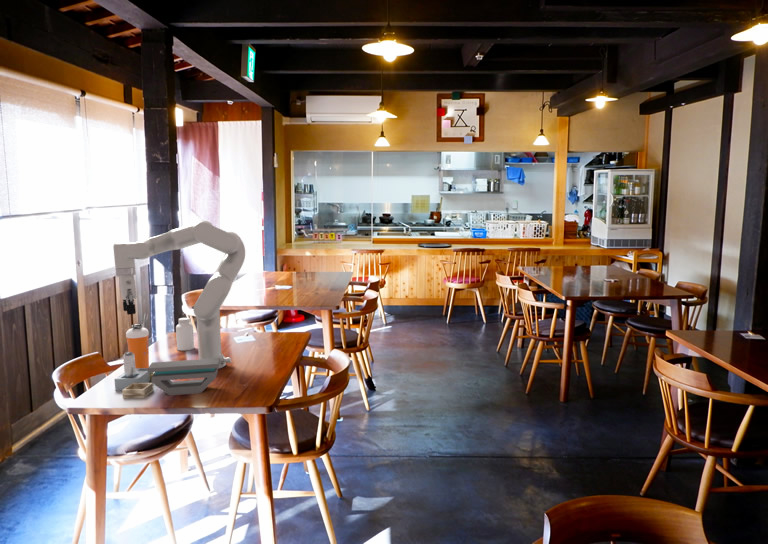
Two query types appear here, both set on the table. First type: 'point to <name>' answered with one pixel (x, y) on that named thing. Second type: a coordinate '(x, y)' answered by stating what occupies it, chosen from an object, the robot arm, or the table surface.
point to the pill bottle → (184, 335)
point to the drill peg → (129, 365)
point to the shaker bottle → (139, 345)
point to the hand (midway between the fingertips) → (129, 312)
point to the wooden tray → (137, 390)
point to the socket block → (141, 377)
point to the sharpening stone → (184, 375)
